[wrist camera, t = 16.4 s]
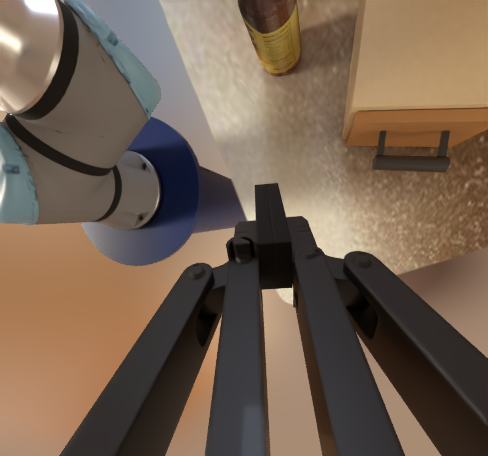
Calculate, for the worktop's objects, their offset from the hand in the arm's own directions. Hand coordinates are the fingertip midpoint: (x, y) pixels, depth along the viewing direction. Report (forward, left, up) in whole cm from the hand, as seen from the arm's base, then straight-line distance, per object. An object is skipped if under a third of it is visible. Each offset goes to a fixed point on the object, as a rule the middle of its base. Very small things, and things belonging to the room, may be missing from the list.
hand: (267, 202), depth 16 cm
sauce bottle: (-4, +23, -22) cm, 32 cm away
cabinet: (+13, +19, -22) cm, 32 cm away
